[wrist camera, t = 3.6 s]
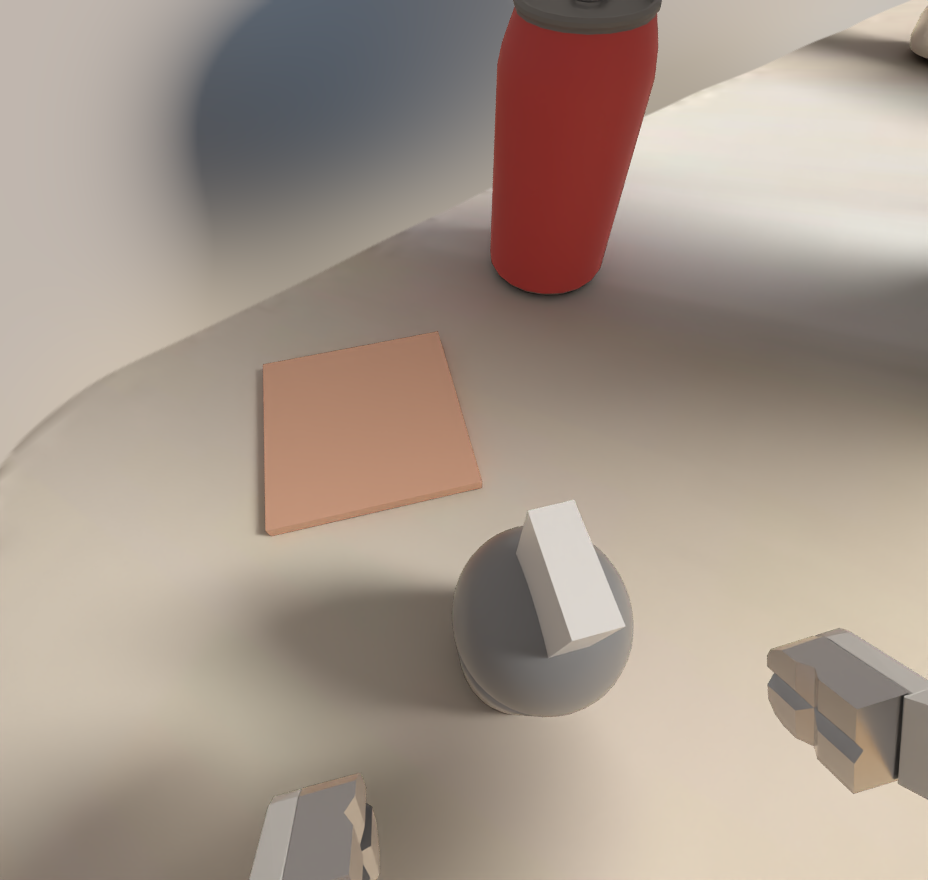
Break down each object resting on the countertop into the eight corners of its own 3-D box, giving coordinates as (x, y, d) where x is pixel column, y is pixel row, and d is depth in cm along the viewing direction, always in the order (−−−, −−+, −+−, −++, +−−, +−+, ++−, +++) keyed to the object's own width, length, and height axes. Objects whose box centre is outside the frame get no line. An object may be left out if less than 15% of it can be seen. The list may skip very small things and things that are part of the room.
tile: (438, 339, 24) (437, 331, 24) (481, 487, 20) (482, 481, 19) (267, 372, 23) (262, 364, 23) (271, 536, 19) (265, 531, 18)
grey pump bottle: (548, 581, 17) (638, 429, 8) (588, 696, 15) (769, 674, 6) (448, 607, 17) (419, 478, 8) (475, 729, 15) (479, 760, 6)
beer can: (612, 245, 28) (692, -25, 18) (580, 314, 25) (656, 36, 15) (513, 220, 30) (534, -42, 19) (472, 282, 26) (472, 10, 16)
